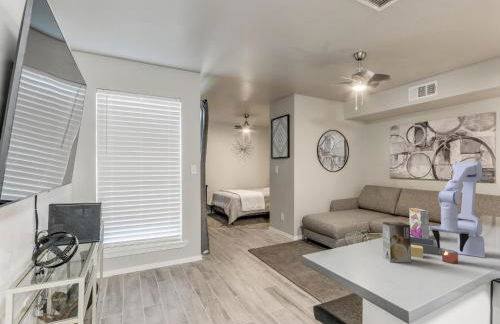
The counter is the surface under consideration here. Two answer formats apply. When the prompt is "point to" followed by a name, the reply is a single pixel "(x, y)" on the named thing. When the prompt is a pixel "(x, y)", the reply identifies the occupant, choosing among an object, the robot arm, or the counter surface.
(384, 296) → the counter surface
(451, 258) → the bean tin
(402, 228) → the coffee box
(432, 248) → the tote
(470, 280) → the counter surface
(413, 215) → the candy bar box
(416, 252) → the tan block
